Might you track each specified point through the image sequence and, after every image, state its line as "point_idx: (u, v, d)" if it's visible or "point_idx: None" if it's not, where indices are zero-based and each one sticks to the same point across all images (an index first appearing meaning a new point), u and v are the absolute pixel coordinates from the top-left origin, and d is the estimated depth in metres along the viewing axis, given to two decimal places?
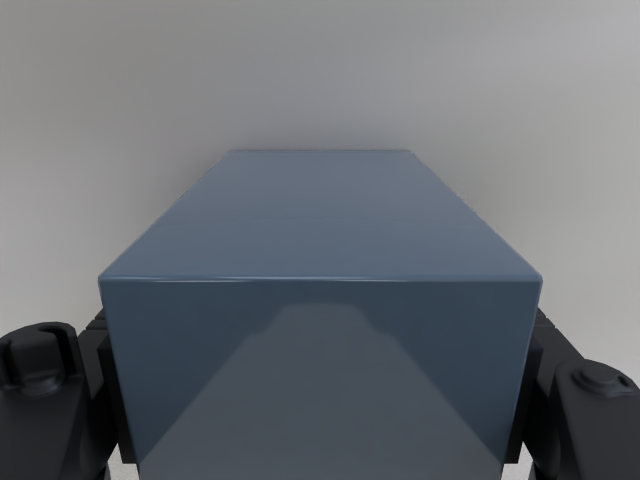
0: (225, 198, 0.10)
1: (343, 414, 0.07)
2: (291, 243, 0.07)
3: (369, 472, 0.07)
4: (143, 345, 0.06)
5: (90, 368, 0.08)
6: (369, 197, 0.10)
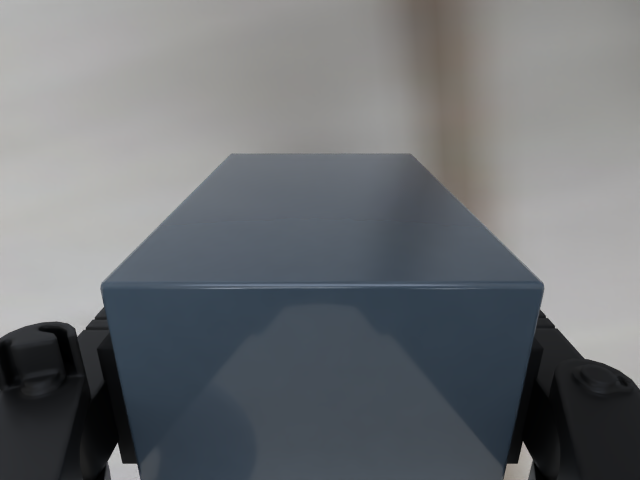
0: (227, 203, 0.10)
1: (345, 419, 0.07)
2: (293, 249, 0.07)
3: (370, 477, 0.07)
4: (145, 352, 0.07)
5: (90, 368, 0.08)
6: (370, 202, 0.10)
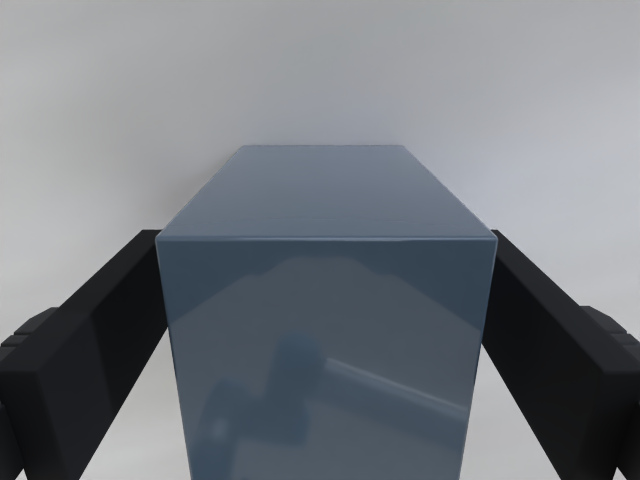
0: (245, 183, 0.11)
1: (344, 349, 0.09)
2: (303, 215, 0.09)
3: (364, 400, 0.09)
4: (188, 292, 0.08)
5: None
6: (365, 182, 0.12)
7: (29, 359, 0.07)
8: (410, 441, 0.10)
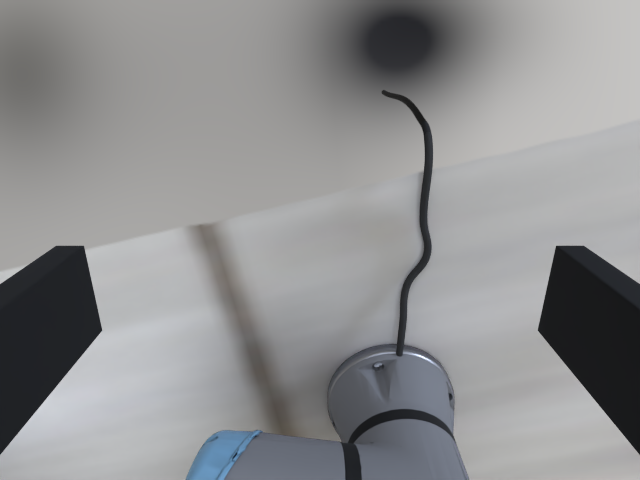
0: None
1: None
2: None
3: None
4: None
5: None
6: None
7: None
8: None
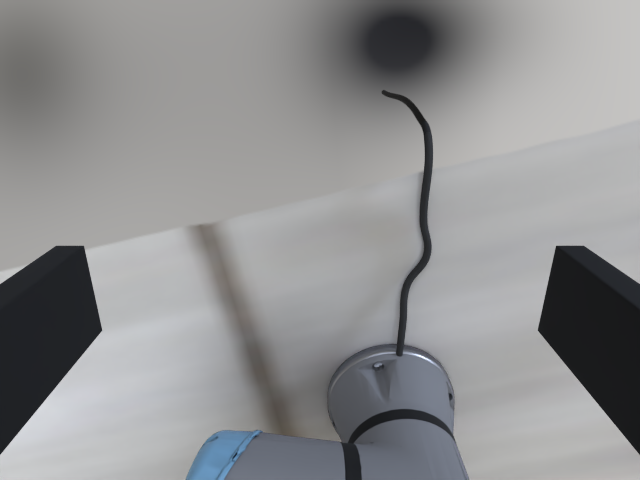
0: None
1: None
2: None
3: None
4: None
5: None
6: None
7: None
8: None
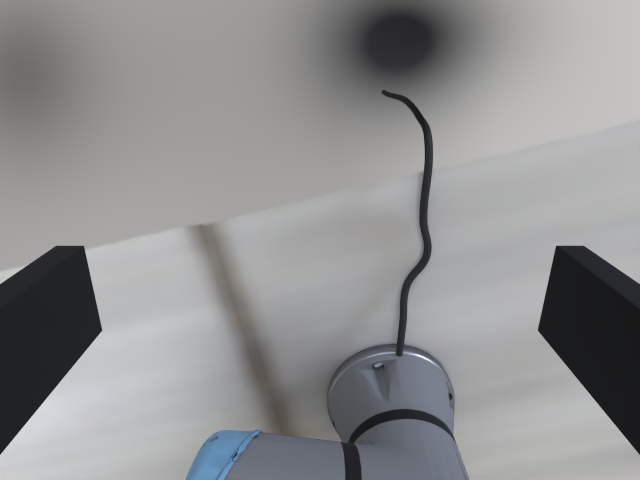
0: None
1: None
2: None
3: None
4: None
5: None
6: None
7: None
8: None
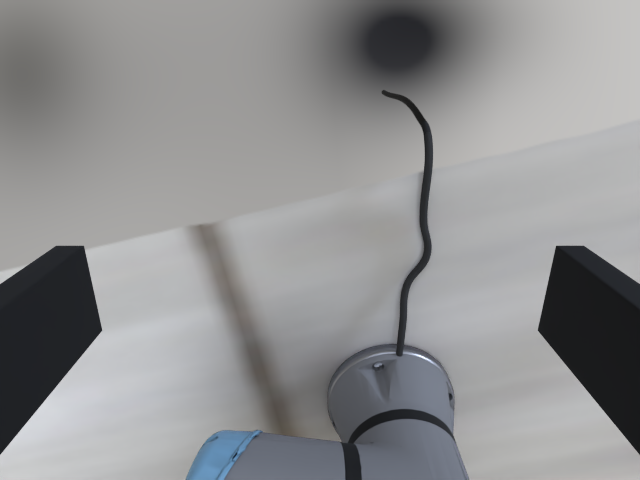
0: None
1: None
2: None
3: None
4: None
5: None
6: None
7: None
8: None
